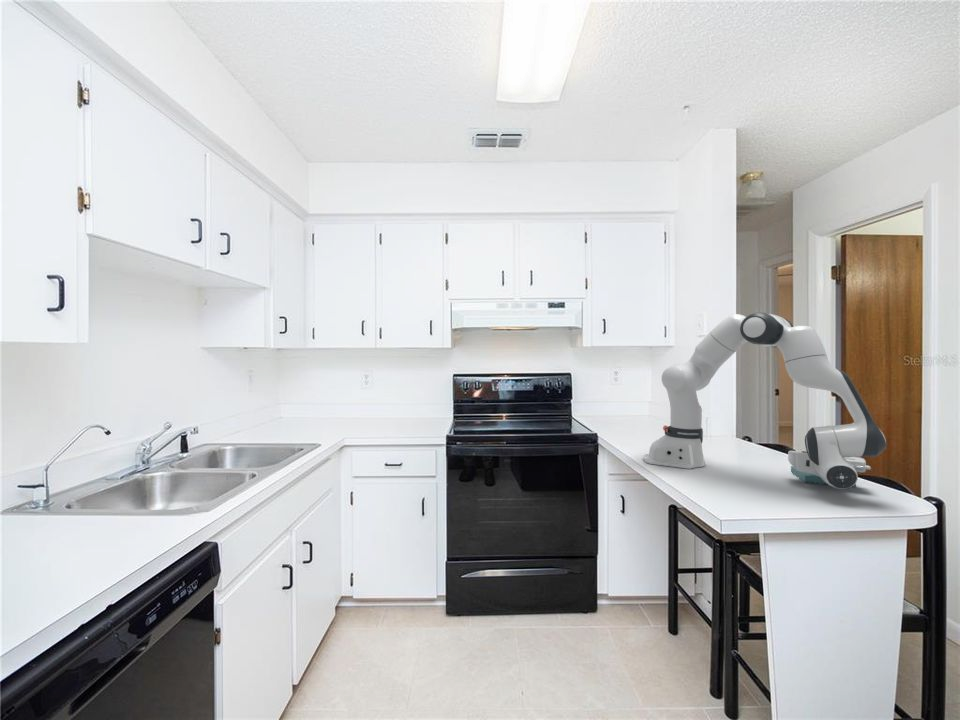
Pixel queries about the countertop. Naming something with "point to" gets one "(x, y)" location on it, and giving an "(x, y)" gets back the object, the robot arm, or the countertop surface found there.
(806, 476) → the tray
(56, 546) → the countertop surface
